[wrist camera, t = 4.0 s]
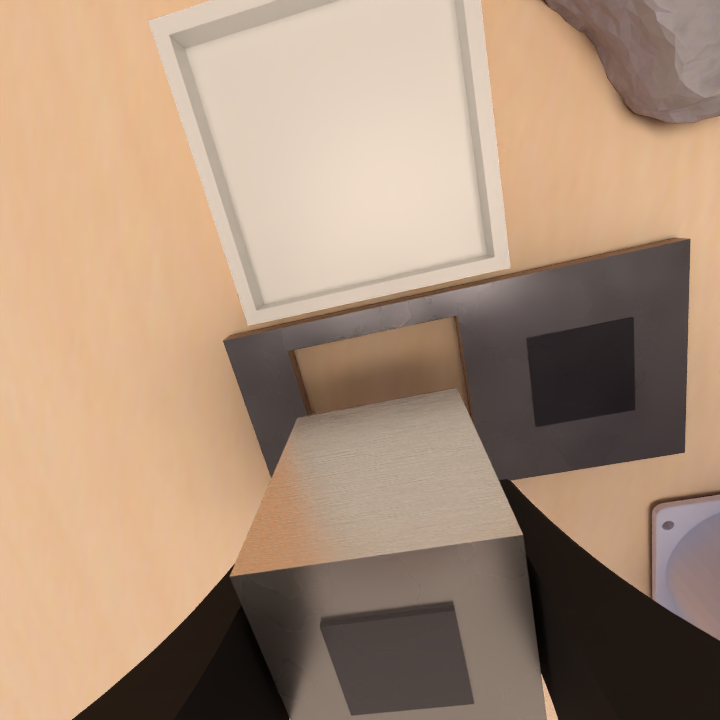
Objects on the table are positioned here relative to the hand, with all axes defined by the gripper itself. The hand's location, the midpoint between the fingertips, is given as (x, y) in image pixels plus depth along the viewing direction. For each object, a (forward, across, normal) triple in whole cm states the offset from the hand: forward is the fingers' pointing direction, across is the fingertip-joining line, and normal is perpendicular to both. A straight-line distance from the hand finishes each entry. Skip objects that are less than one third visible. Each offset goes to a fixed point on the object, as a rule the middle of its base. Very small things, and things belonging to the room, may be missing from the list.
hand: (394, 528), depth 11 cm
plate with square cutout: (+8, -3, 0) cm, 8 cm away
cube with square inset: (+2, 0, 0) cm, 2 cm away
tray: (+8, 0, -10) cm, 13 cm away
